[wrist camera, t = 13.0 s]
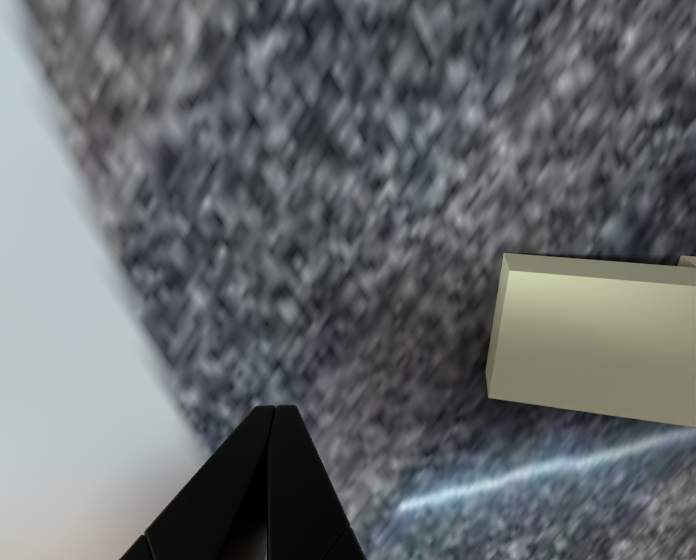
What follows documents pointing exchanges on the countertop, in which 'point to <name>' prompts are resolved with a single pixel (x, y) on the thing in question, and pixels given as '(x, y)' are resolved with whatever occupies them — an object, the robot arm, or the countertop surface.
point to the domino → (596, 337)
